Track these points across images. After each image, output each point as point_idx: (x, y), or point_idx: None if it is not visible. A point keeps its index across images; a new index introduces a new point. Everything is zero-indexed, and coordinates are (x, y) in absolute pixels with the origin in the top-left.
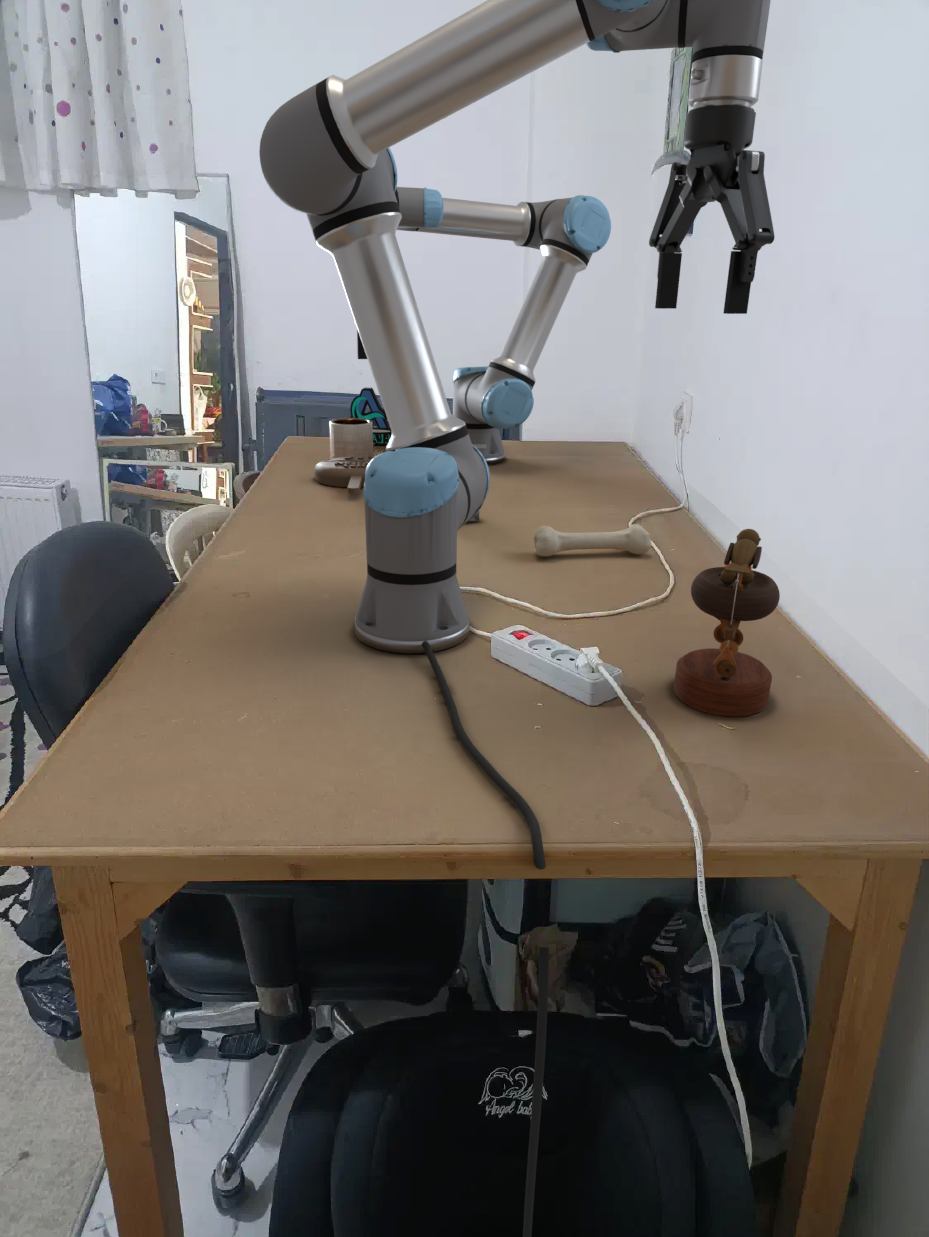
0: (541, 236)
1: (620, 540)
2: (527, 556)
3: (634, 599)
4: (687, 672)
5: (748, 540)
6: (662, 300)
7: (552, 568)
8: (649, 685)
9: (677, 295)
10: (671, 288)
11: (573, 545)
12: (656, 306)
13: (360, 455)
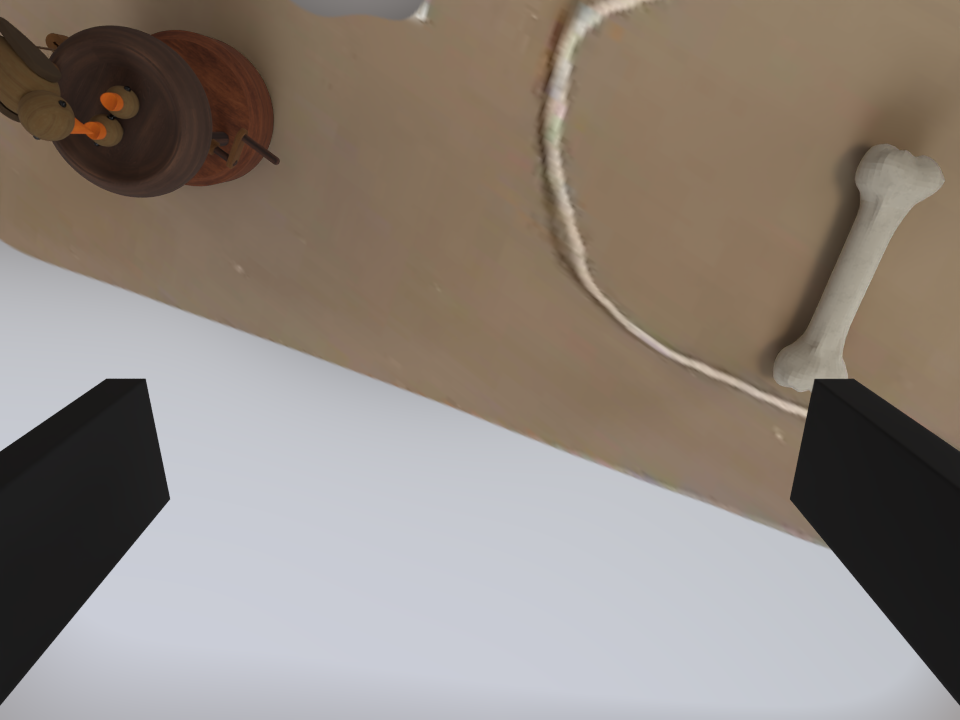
0: None
1: (813, 329)
2: (900, 138)
3: (590, 215)
4: (177, 35)
5: (2, 87)
6: (835, 423)
7: (807, 152)
8: (263, 22)
9: (830, 547)
10: (867, 526)
11: (852, 229)
12: (844, 382)
13: None
